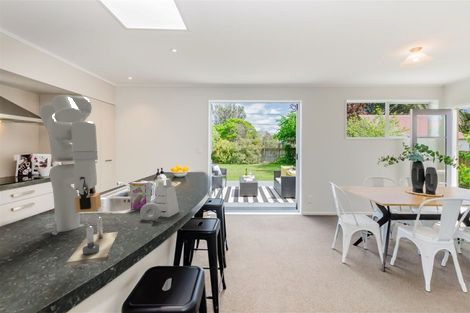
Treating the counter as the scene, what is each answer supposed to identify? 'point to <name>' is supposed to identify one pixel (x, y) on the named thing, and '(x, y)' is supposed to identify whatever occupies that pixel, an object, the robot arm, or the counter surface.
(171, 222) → the counter surface
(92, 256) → the board
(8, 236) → the counter surface
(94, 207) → the collar
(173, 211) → the grater
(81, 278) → the counter surface
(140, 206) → the candy bar box
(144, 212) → the donut
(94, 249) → the metal peg
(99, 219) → the stand rod
